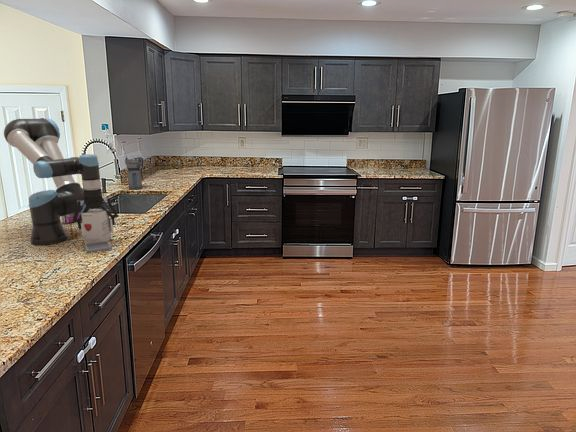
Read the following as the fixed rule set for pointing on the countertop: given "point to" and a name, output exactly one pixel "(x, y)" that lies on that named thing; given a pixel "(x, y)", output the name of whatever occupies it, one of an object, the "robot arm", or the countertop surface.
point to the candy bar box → (69, 218)
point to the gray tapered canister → (134, 173)
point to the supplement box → (96, 226)
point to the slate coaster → (97, 246)
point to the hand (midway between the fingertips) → (97, 233)
